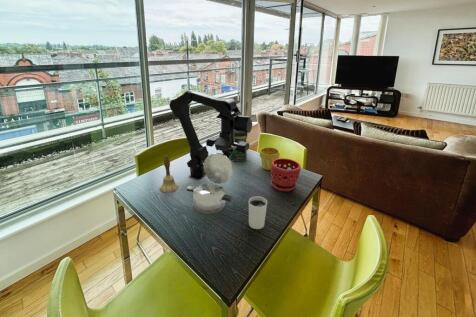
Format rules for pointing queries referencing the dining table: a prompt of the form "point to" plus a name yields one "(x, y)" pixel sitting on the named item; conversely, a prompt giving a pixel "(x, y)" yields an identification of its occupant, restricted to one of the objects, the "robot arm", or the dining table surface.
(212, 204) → the cooker pot
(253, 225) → the white cup
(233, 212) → the dining table surface
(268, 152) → the plant pot
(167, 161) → the hand bell
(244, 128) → the robot arm
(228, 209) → the dining table surface
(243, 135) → the coffee jar
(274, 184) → the plant pot
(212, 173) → the cooker lid
